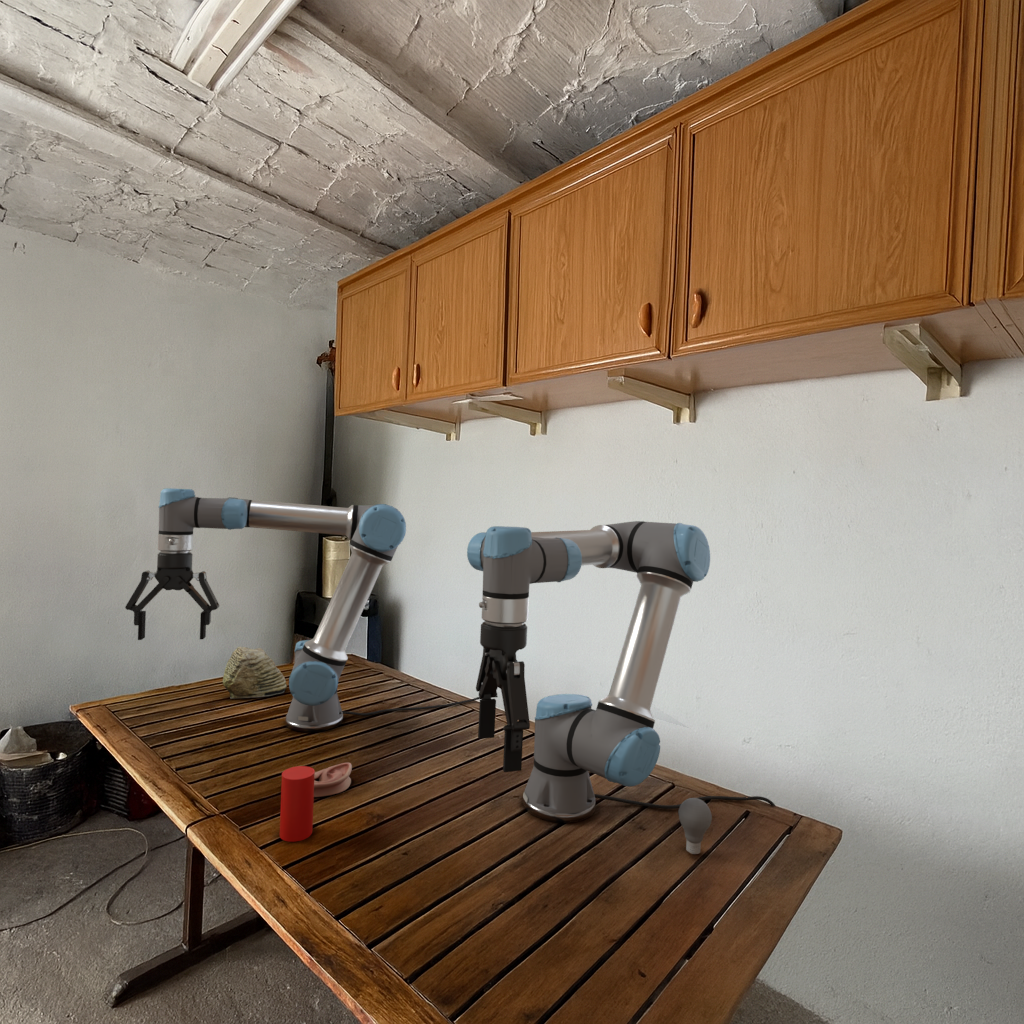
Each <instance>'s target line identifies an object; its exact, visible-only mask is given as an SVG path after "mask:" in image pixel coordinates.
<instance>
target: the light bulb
mask: <svg viewBox="0 0 1024 1024" xmlns="http://www.w3.org/2000/svg"><path fill="white" fill-rule="evenodd" d="M680 804H681V805H680V807H679V808H678V814H677V815H678V820H679V822H680V824H681V827H682V829H683V832H684V837H685V841H686V842H685V843H686V845H685V850H686V851H687V852H688V853H690V854H691V855H698V854H700V853H701V850H702V849H701V848H702V847H701V845H702V842H703V840H704V837H705V834H706V832H707V831H708V830H709V828H710V826H711V824H712V822H713V821H712V820H713V815H712V810H711V809H710V807H709V805H708V804H707V803H706V802H705V800H700V799H698V797H689V798H687V799H685V800H684V801H683V802H682V803H680Z"/></svg>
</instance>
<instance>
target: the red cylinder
mask: <svg viewBox="0 0 1024 1024" xmlns="http://www.w3.org/2000/svg"><path fill="white" fill-rule="evenodd" d="M315 772H316V770H315V769H314V768H313V767H310V766H307V765H297V766H292V767H289V768H286V769H285V770H283V771H282V772H281V784H280V785H281V786H280V787H281V788H280V789H281V790H280V813H279V815H280V816H279V838H280V839H281V840H282V841H285V842H288V843H289V842H291V843H295V842H300V841H304V840H307V839H309V838H310V837H311V836H312V834H313V827H314V825H313V824H314V804H315V803H314V802H315V801H314V800H315V797H314V778H315Z"/></svg>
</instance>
